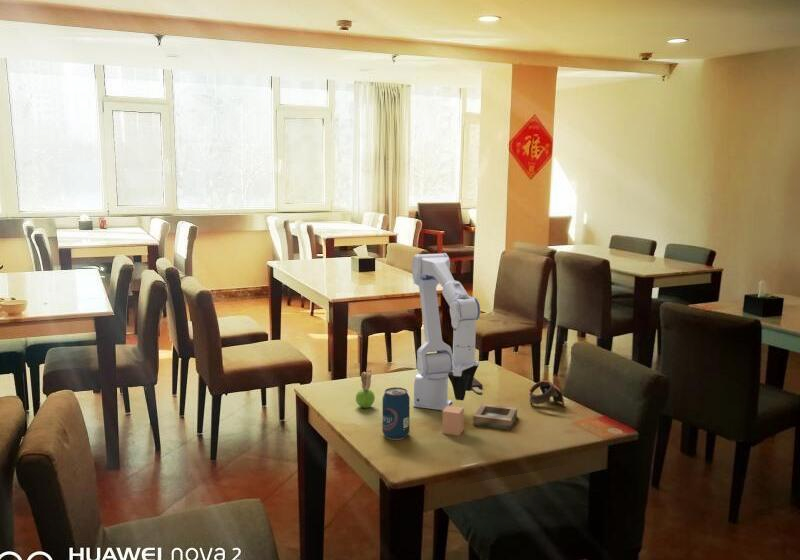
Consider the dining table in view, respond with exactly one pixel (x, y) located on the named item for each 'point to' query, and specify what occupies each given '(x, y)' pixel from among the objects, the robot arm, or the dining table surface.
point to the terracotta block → (453, 420)
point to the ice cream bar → (476, 386)
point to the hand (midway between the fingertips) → (463, 394)
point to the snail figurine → (365, 391)
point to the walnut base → (495, 416)
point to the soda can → (395, 413)
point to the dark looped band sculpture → (546, 393)
